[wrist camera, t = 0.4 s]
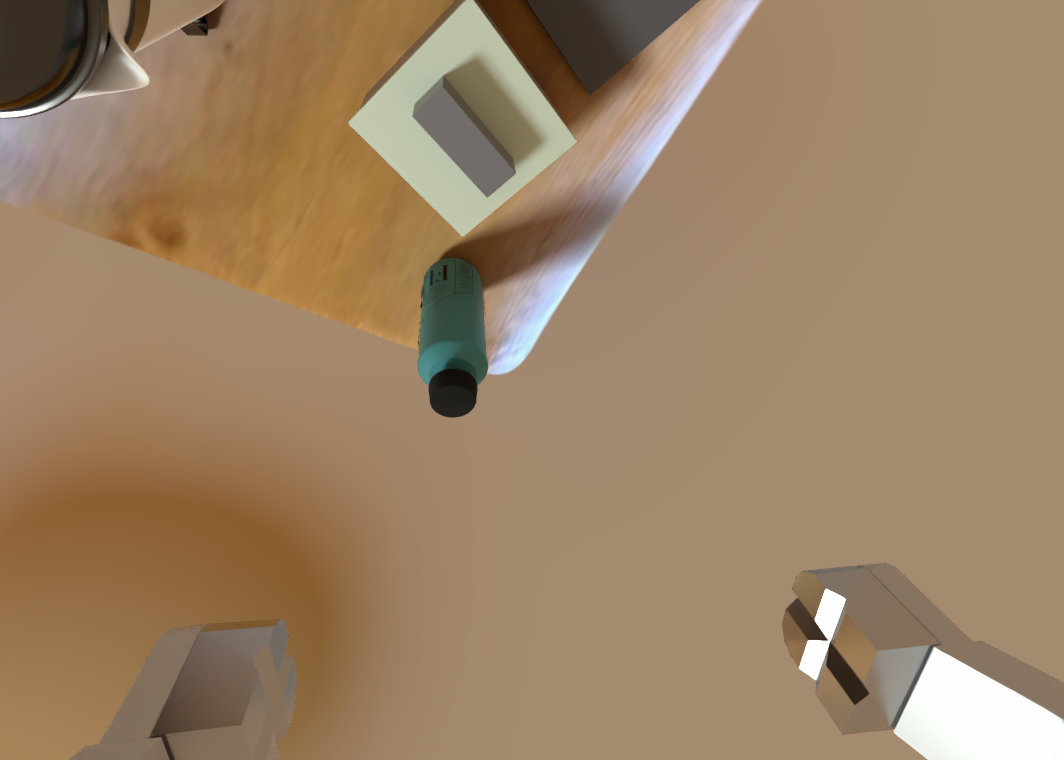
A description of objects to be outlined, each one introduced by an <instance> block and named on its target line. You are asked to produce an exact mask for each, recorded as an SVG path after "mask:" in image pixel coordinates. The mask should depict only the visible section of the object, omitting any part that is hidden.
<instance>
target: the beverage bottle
mask: <svg viewBox="0 0 1064 760" xmlns="http://www.w3.org/2000/svg"><path fill="white" fill-rule="evenodd" d="M426 272H427V273H426V274H425V276H424V277H425V278H424V284H423V292H422V293H421V299H422V296H423V300H422V302H421V307H422V313H421V316H420V317H421V322H420V323H421V327H420V329H419V330H420V342H419V341H418V343H419V345H420V348H419V359H418V372H419V375H420V377H421V378H422V380H423V381H424V382H425V383H426V384H427V385H428V386H429V395H430V404H431V407H432V408H433V410H434V411H435V412H437V413H438V414H440V415H442V416H446V417H460V416H463V415H465V414H468V413H469V412H470V411H471V410H472V409H473V408H474V406H475V404H476V396H477V385H478V384H480V383H481V382H482V380H483V379H484V378H485V376H486V374H487V370H488V362H487V357H486V343H485V327H484V314H485V313H484V309H485V308H484V307H485V306H484V307H483V304H484V303H483V296H484V294H483V293H484V292H483V293H482V281H481V278H480V275H479V273H478V272H477V270H476V269H475V268H474V267H473V266H472V265H471V264H469V263H468V262H466V261H464V260H461V259H456V258H447V259H443V260H440V261H438V262H436V263H434V264H433V265H432V266H431V267H430V268H429V270H428V271H426ZM483 287H484V286H483ZM422 294H423V295H422ZM485 316H486V315H485ZM418 335H419V334H418ZM418 337H419V336H418ZM419 345H418V346H419Z"/></svg>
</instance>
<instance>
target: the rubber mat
mask: <svg viewBox="0 0 1064 760" xmlns="http://www.w3.org/2000/svg"><path fill="white" fill-rule="evenodd" d="M526 1H527V2H528V4H529V5H530V7H531V8H532V10H533V11H534V13H535V14H536V16H537V17H538V19H539V20H540V22H541V23H542V24H543V26H544V27H545V29H546V30H547V32H548V33H549V35H550V36H551V38H552V39H553V41H554V42H555V44H556V45H557V47H558V48H559V50H560V51H561V53H562V54H563V56H564V57H565V59H566V60H567V62H568V63H569V65H570V66H571V68H572V69H573V71H574V72H575V73H576V75H577V76H578V78H579V79H580V81H581V82H582V84H583V85H584V87H585V88H586V90H587V91H588V93H589V94H592V93H593V92H594V91H595V90H596V89H597V88H599V87H600V86H601V85H602V84H603V83H604V82H606V81H607V80H608V79H609V78H610V77H611V76H613V75H614V74H615V73H616V72H617V71H618V70H619V69H621V68H622V67H623V66H624V65H625V64H626V63H628V62H629V61H630V60H631V59H632V58H633V57H635V56H636V55H637V54H638V53H639V52H640V51H642V50H643V49H644V48H645V47H646V46H647V45H649V44H650V43H651V42H652V41H653V40H654V39H656V38H657V37H658V36H659V35H660V34H661V33H663V32H664V31H665V30H666V29H667V28H668V27H669V26H671V25H672V24H673V23H674V22H675V21H676V20H678V19H679V18H680V17H681V16H682V15H683V14H685V13H686V12H687V11H688V10H689V9H690V8H692V7H693V6H694V5H695V4H696V3H697V2H699V1H700V0H526Z"/></svg>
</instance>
